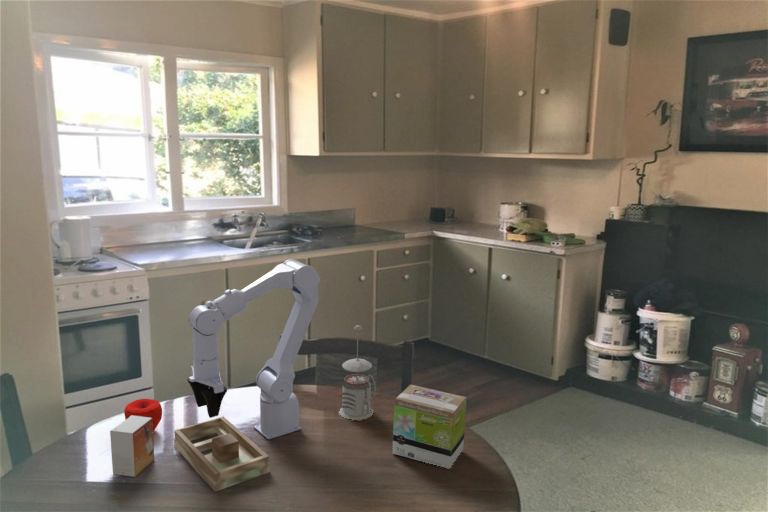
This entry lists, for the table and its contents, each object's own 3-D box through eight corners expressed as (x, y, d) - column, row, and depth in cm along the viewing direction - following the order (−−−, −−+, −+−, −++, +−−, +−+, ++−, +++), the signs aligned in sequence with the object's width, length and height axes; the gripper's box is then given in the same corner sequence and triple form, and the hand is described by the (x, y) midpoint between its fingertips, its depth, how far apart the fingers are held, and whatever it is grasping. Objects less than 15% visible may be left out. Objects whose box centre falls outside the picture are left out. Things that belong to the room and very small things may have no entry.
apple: (170, 429, 155) (169, 400, 153) (142, 444, 147) (141, 414, 146) (145, 421, 159) (144, 393, 157) (117, 435, 151) (115, 405, 150)
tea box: (391, 455, 145) (392, 397, 142) (407, 437, 154) (409, 382, 151) (450, 471, 139) (453, 411, 136) (464, 451, 148) (467, 395, 145)
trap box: (224, 430, 155) (224, 416, 154) (270, 472, 137) (269, 455, 136) (174, 445, 147) (173, 430, 146) (215, 491, 129) (214, 474, 128)
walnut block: (230, 448, 142) (230, 433, 141) (239, 457, 139) (238, 440, 138) (212, 454, 139) (211, 438, 139) (220, 463, 136) (219, 446, 135)
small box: (134, 478, 133) (132, 433, 131) (112, 474, 134) (109, 430, 132) (155, 459, 141) (153, 417, 139) (133, 456, 142) (131, 414, 140)
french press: (358, 401, 174) (360, 317, 169) (386, 415, 166) (388, 327, 161) (331, 411, 167) (332, 324, 162) (358, 426, 159) (360, 335, 154)
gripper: (177, 351, 145) (180, 404, 148) (201, 370, 134) (203, 427, 137) (206, 345, 150) (207, 397, 152) (231, 363, 139) (233, 418, 141)
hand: (207, 410), depth 145 cm, fingers open, 6 cm apart
